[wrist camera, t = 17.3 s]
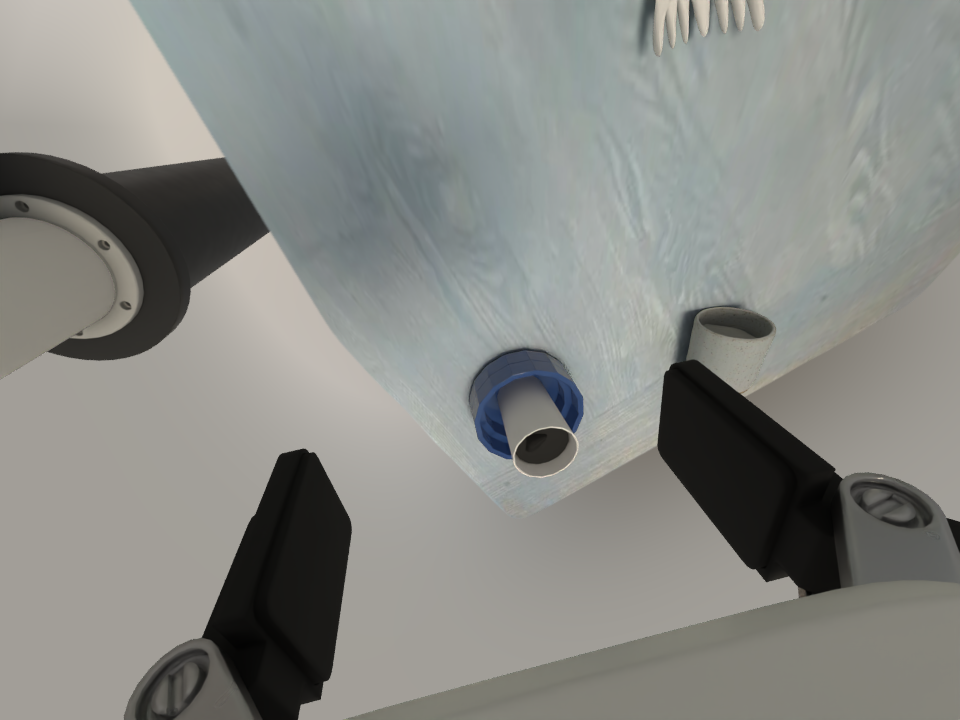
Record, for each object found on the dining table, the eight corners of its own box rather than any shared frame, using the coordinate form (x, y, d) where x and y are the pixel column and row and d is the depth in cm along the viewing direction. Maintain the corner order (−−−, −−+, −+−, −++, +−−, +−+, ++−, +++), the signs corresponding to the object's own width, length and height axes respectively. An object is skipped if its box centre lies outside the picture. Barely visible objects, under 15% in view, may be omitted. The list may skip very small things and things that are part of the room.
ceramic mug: (670, 371, 50) (711, 407, 43) (680, 312, 45) (727, 342, 39) (747, 356, 51) (798, 389, 44) (764, 297, 46) (823, 324, 40)
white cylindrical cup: (491, 418, 48) (509, 480, 40) (495, 372, 45) (516, 428, 36) (544, 415, 49) (572, 475, 41) (551, 370, 46) (584, 424, 37)
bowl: (449, 408, 47) (453, 436, 43) (510, 329, 43) (521, 351, 39) (526, 444, 52) (536, 472, 48) (587, 377, 48) (605, 400, 44)
